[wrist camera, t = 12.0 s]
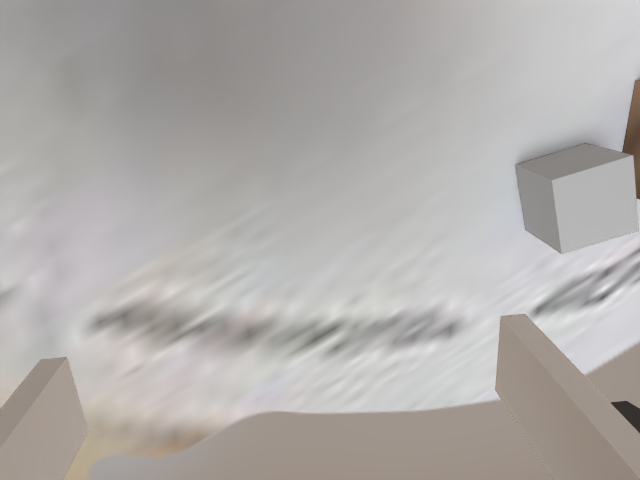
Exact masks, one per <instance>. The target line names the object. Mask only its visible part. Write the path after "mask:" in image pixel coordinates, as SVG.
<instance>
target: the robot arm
mask: <svg viewBox="0 0 640 480" xmlns="http://www.w3.org/2000/svg"><path fill="white" fill-rule="evenodd" d="M495 390H496V392H497V394H498V395H499V397H500V398H501V400H502V401H503V403H504V404H505V406H506V407H507V409H508V411H509V412H510V414H511V415H512V417H513V418H514V420H515V421H516V423H517V424H518V426H519V428H520V429H521V431H522V432H523V434H524V435H525V437H526V438H527V440H528V441H529V443H530V444H531V446H532V448H533V449H534V451H535V452H536V454H537V456H538V457H539V459H540V460H541V462H542V463H543V465H544V466H545V468H546V469H547V471H548V472H549V474H550V476H551V477H552V479H553V480H640V409H639V408H638V407H636V406H634V405H632V404H631V403H629V402H627V401H621V402H611V403H610V402H609V401H608V400H607V399H606V398H605V397H604V396H603V395H602V394H601V393H600V392H599V391H598V390H597V388H596V387H595V386H594V385H593V384H592V383H591V382H590V381H589V380H588V379H587V378H586V377H585V376H584V375H583V374H582V373H581V372H580V371H579V370H578V369H577V367H576V366H575V365H574V364H573V363H572V362H571V361H570V360H569V359H568V358H567V357H566V356H565V355H564V354H563V353H562V352H561V351H560V350H559V349H558V348H557V347H556V346H555V345H554V344H553V342H552V341H551V340H550V339H549V338H548V337H547V336H546V335H545V334H544V333H543V332H542V331H541V330H540V329H539V328H538V327H537V326H536V325H535V324H534V323H533V322H532V321H531V320H530V319H529V317H528V316H527V315H526V314H518V315H507V316H501V319H500V333H499V346H498V359H497V373H496V386H495ZM87 433H88V427H87V424H86V421H85V417H84V414H83V410H82V407H81V403H80V400H79V397H78V393H77V390H76V386H75V383H74V379H73V376H72V373H71V369H70V366H69V362H68V359H67V357H63V358H52V359H42V360H40V361H39V362H38V363H37V365H36V366H35V367H34V368H33V370H32V371H31V372H30V373H29V374H28V376H27V377H26V378H25V379H24V381H23V382H22V383H21V384H20V386H19V387H18V388H17V389H16V390H15V392H14V393H13V394H12V395H11V397H10V398H9V399H8V400H7V401H6V403H5V404H4V405H3V406H2V408H1V409H0V480H63V479H64V477H65V475H66V473H67V471H68V469H69V468H70V466H71V464H72V462H73V460H74V458H75V456H76V454H77V452H78V450H79V449H80V447H81V445H82V443H83V441H84V439H85V437H86V435H87Z"/></svg>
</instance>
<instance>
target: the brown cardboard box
mask: <svg viewBox="0 0 640 480" xmlns="http://www.w3.org/2000/svg"><path fill="white" fill-rule="evenodd" d="M623 153H626V154H630V155H633V158H634V172H635V186H636V198H637V199H640V81H635V86H634V92H633V97H632V103H631V108H630V114H629V120H628V125H627V131H626V136H625V142H624V147H623Z"/></svg>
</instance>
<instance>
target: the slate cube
mask: <svg viewBox="0 0 640 480" xmlns="http://www.w3.org/2000/svg"><path fill="white" fill-rule="evenodd" d="M515 169H516V175H517V181H518V187H519V194H520V200H521V206H522V212H523V219H524V225H525V230H526V231H528V232H529V233H531V234H532V235H534V236H535V237H537V238H538V239H540V240H541V241H543V242H544V243H546V244H547V245H549V246H550V247H552V248H553V249H555V250H556V251H558V252H559V253H561V254H564V253H567V252H570V251H574V250H577V249H580V248H584V247H587V246H590V245H594V244H597V243H600V242H604V241H607V240H610V239H613V238H617V237H620V236H623V235H627V234H630V233H633V232H637V231H639V228H638V214H637V200H636V186H635V172H634V158H633V155H630V154H626V153H622V152H618V151H614V150H610V149H606V148H602V147H598V146H594V145H590V144H586V143H584V144H581V145H577V146H574V147H571V148H568V149H565V150H561V151H558V152H555V153H552V154H548V155H545V156H542V157H539V158H535V159H532V160H529V161H526V162H523V163H519V164H516V165H515Z"/></svg>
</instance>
